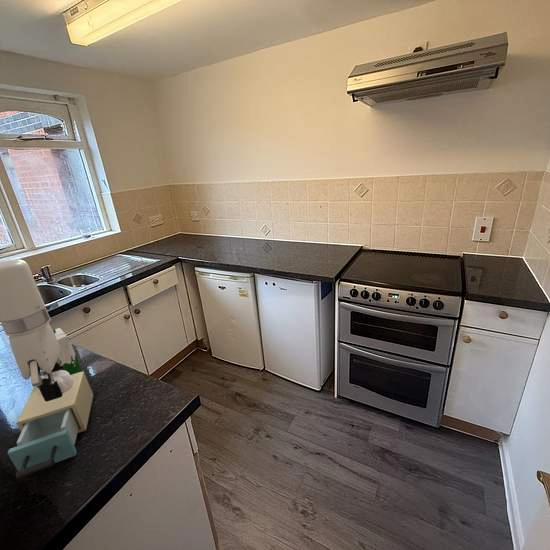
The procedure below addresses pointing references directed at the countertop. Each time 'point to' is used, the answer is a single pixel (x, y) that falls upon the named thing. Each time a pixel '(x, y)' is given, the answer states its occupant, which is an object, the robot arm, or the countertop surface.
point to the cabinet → (61, 403)
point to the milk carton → (66, 353)
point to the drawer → (45, 442)
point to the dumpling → (61, 381)
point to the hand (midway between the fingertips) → (57, 389)
